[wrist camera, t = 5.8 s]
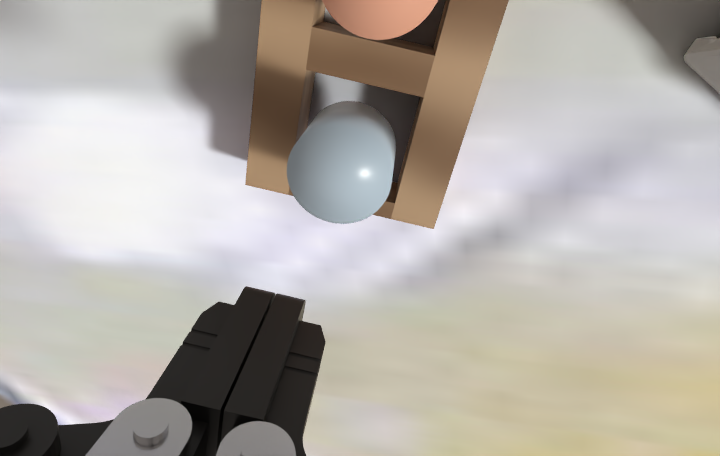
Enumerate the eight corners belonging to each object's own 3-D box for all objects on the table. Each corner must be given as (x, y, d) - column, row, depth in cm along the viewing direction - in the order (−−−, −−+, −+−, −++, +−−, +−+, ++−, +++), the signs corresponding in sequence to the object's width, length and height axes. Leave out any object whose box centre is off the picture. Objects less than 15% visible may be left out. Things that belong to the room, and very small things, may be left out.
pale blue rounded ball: (317, 87, 23) (293, 112, 19) (406, 108, 23) (403, 138, 19) (304, 170, 25) (280, 210, 21) (385, 189, 25) (378, 233, 21)
